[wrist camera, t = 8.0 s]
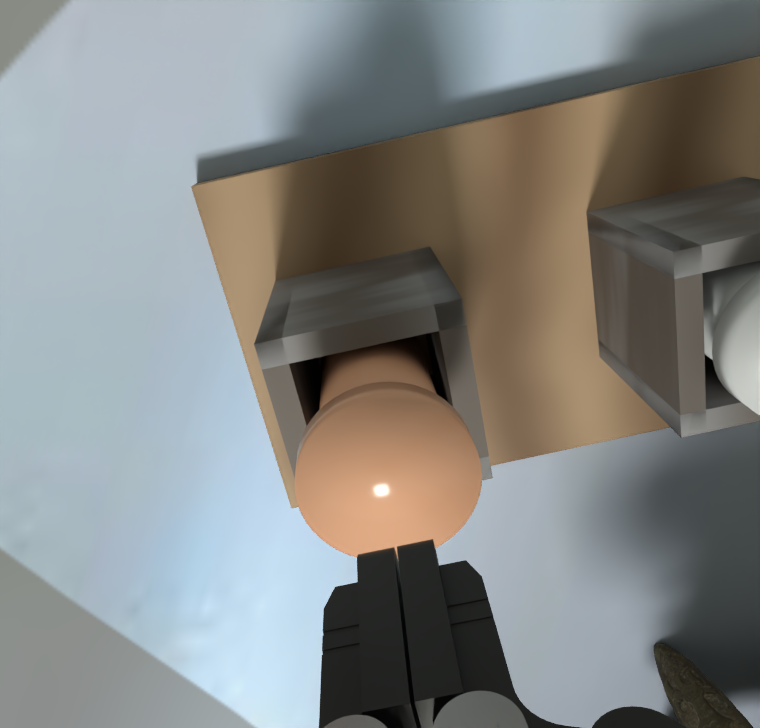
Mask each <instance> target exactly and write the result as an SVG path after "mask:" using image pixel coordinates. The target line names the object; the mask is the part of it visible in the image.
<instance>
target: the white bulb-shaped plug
mask: <svg viewBox="0 0 760 728" xmlns="http://www.w3.org/2000/svg"><path fill="white" fill-rule="evenodd" d="M702 276H703V314H704V352H705V355H706V356H707V357H709V358H710V359H712V360H713V364H714V368H715V372H716V374H717V376H718V379H719V380H720V382H721V383H722V385H723V386H724V388H725V389H726V390H727V391H728V392H729V393H730V394H731V395H733V396H734V397H735V398H736V399H738V400H739V401H740V402H742V403H743V404H744V405H746V406H747V407H748V408H750V409H751V410H752V411H754V412H755V413H757V414H758V415H760V261H755V262H751V263H746V264H742V265H737V266H732V267H728V268H723V269H719V270H714V271H710V272H705V273H702Z"/></svg>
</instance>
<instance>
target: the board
mask: <svg viewBox="0 0 760 728" xmlns="http://www.w3.org/2000/svg"><path fill="white" fill-rule="evenodd" d="M192 191H193V194H194V197H195V200H196V203H197V207H198V210H199V213H200V216H201V219H202V223H203V226H204V229H205V232H206V236H207V239H208V242H209V245H210V248H211V252H212V255H213V258H214V261H215V264H216V268H217V271H218V274H219V277H220V280H221V284H222V287H223V290H224V293H225V296H226V300H227V303H228V306H229V309H230V313H231V316H232V319H233V322H234V325H235V329H236V332H237V335H238V338H239V341H240V345H241V348H242V351H243V354H244V357H245V361H246V364H247V367H248V370H249V373H250V377H251V380H252V383H253V386H254V390H255V393H256V396H257V399H258V402H259V406H260V409H261V412H262V415H263V418H264V422H265V425H266V428H267V431H268V434H269V438H270V441H271V444H272V447H273V451H274V454H275V457H276V460H277V463H278V467H279V470H280V473H281V476H282V479H283V483H284V486H285V489H286V492H287V495H288V499H289V502H290V505H291V508H296V507H299V506H298V504H297V499H296V495H295V484H294V482H295V470H296V461H297V452H298V448H299V444H300V440H301V438H302V435H303V433H304V430H305V429H306V427H307V425H308V424H309V422H310V421H311V419H312V418H313V417H314V415H315V414H316V413H317V412H318V411H319V407H320V390H321V372H322V357H323V356H327V355H331V354H336V353H340V352H345V351H350V350H354V349H359V348H363V347H368V346H372V345H377V344H381V343H386V342H391V341H395V340H400V339H404V338H409V337H413V336H416V338H417V340H418V341H419V344H420V346H421V349H422V352H423V355H424V358H425V361H426V364H427V367H428V370H429V373H430V376H431V379H432V382H433V385H434V388H435V391H436V394H437V395H439V396H440V397H442V398H443V399H445V400H446V401H447V402H448V403H449V404H450V405H452V406H453V407H454V408H455V409H456V411H457V412H458V413H459V414H460V415H461V417H462V418H463V420H464V422H465V423H466V425H467V427H468V429H469V432H470V434H471V437H472V439H473V442H474V444H475V447H476V449H477V452H478V454H479V458H480V462H481V469H482V480H486V479H491V478H493V477H492V471H491V466H492V465H496V464H501V463H506V462H510V461H515V460H520V459H524V458H529V457H534V456H538V455H543V454H548V453H552V452H557V451H562V450H566V449H571V448H576V447H580V446H585V445H590V444H594V443H599V442H604V441H608V440H613V439H618V438H622V437H627V436H632V435H637V434H641V433H646V432H651V431H655V430H660V429H665V428H669V427H671V428H672V429H673V430H674V431H675V432H676V433H677V434H678V435H679V436H680V437H681V438H682V437H687V436H692V435H696V434H701V433H706V432H710V431H715V430H720V429H725V428H729V427H734V426H739V425H743V424H748V423H753V422H757V421H760V415H758V414H757V413H755V412H754V411H752V410H751V409H750V408H748V407H747V406H746V405H744V404H743V403H742V402H740V401H739V400H738V399H736V398H735V397H734V396H733V395H731V394H730V393H729V392H728V391H727V390H726V389H725V388H724V386H723V385H722V383H721V382H720V380H719V379H718V376H717V374H716V372H715V368H714V364H713V360H712V359H710V358H709V357H707V356H706V355H705V352H704V314H703V276H702V273H705V272H710V271H714V270H719V269H723V268H728V267H732V266H737V265H742V264H746V263H751V262H755V261H760V56H757V57H752V58H748V59H743V60H739V61H735V62H730V63H726V64H721V65H717V66H713V67H708V68H704V69H699V70H695V71H690V72H686V73H682V74H677V75H673V76H668V77H664V78H660V79H655V80H651V81H646V82H642V83H637V84H633V85H629V86H624V87H620V88H615V89H611V90H607V91H602V92H598V93H593V94H589V95H585V96H580V97H576V98H571V99H567V100H562V101H558V102H554V103H549V104H545V105H540V106H536V107H532V108H527V109H523V110H518V111H514V112H509V113H505V114H501V115H496V116H492V117H487V118H483V119H479V120H474V121H470V122H465V123H461V124H457V125H452V126H448V127H443V128H439V129H434V130H430V131H426V132H421V133H417V134H412V135H408V136H404V137H399V138H395V139H390V140H386V141H381V142H377V143H373V144H368V145H364V146H359V147H355V148H351V149H346V150H342V151H337V152H333V153H328V154H324V155H320V156H315V157H311V158H306V159H302V160H298V161H293V162H289V163H284V164H280V165H276V166H271V167H267V168H262V169H258V170H253V171H249V172H245V173H240V174H236V175H231V176H227V177H223V178H218V179H214V180H209V181H205V182H200V183H197V184H195V185H193V186H192Z"/></svg>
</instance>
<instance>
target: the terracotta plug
mask: <svg viewBox="0 0 760 728" xmlns="http://www.w3.org/2000/svg"><path fill="white" fill-rule="evenodd" d="M294 484H295V495H296V499H297V504H298V506H299V509H300V511H301V514H302V516H303V517H304V519H305V521H306V523H307V524H308V525H309V527H310V528H311V529H312V530H313V532H314V533H316V534H317V535H318V536H319V537H320V538H321V539H322V540H323V541H325V542H326V543H327V544H329V545H330V546H332V547H333V548H335V549H337V550H339V551H341V552H343V553H346V554H348V555H351V556H354V557H357V556H358V554H363V553H368V552H372V551H377V550H382V549H387V548H392V547H394V548H395V551H396V554H397V546H401V545H406V544H411V543H416V542H421V541H426V540H430V539H433V541H434V545H435V548H437V547H439V546H440V545H442V544H443V543H445V542H446V541H448V540H449V539H450V538H451V537H452V536H454V535H455V534H456V533H457V532H458V531H459V530H460V529H461V528H462V527H463V525H464V524H465V523H466V522H467V520H468V519H469V517H470V516H471V514H472V512H473V510H474V508H475V506H476V504H477V501H478V498H479V495H480V490H481V486H482V469H481V462H480V458H479V454H478V452H477V449H476V447H475V444H474V442H473V439H472V437H471V434H470V432H469V429H468V427H467V425H466V423H465V422H464V420H463V418H462V417H461V415H460V414H459V413H458V412H457V411H456V409H455V408H454V407H453V406H452V405H450V404H449V403H448V402H447V401H446V400H445V399H443V398H442V397H440V396H439V395H437V394H436V391H435V388H434V385H433V382H432V379H431V376H430V373H429V370H428V367H427V364H426V361H425V358H424V355H423V352H422V349H421V346H420V344H419V341H418V340H417V338H416V336H413V337H409V338H404V339H400V340H395V341H391V342H386V343H381V344H377V345H372V346H368V347H363V348H359V349H354V350H350V351H345V352H340V353H336V354H331V355H327V356H323V357H322V372H321V390H320V407H319V411H318V412H317V413H316V414H315V415H314V417H313V418H312V419H311V421H310V422H309V424H308V425H307V427H306V429H305V430H304V433H303V435H302V438H301V440H300V444H299V448H298V452H297V461H296V470H295V482H294ZM397 558H398V554H397Z"/></svg>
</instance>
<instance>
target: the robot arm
mask: <svg viewBox="0 0 760 728" xmlns="http://www.w3.org/2000/svg"><path fill="white" fill-rule="evenodd" d="M397 554H398V558H397ZM397 554H396V551H395V548H394V547H392V548H387V549H382V550H377V551H372V552H368V553H363V554H358V556H357V571H358V582H357V583H353V584H348V585H343V586H338V587H335V589H334V590H333V592H332V594H331V596H330V598H329V600H328V602H327V604H326V606H325V608H324V618H323V634H324V636H323V644H322V651H323V655H322V669H321V694H320V719H319V728H579V727H571V726H563V725H558V724H554V723H551V722H548V721H546V720H544V719H541V718H539V717H538V716H536V715H535V714H533V713H532V712H530V711H529V710H528V709H527V708H526V707H525V706H524V705H523V704H522V702H521V701H520V700H519V698H518V697H517V695H516V693H515V690H514V688H513V685H512V681H511V678H510V674H509V671H508V667H507V664H506V660H505V657H504V653H503V650H502V646H501V643H500V639H499V635H498V632H497V628H496V625H495V621H494V619H493V614H492V611H491V607H490V604H489V601H488V597H487V593H486V590H485V586H484V583H483V579H482V576H481V575H480V574H479V573H478V572H477V571H476V570H475V569H474V568H473V567H472V566H471V565H470V564H469V563H468V562H467V561H466V560H465V561H460V562H455V563H450V564H445V565H440V566H439V563H438V559H437V554H436V550H435V545H434V541H433V539H430V540H426V541H421V542H416V543H411V544H406V545H401V546H397ZM592 728H687V727H685V726H683V725H681V724H680V723H678V722H676V721H675V720H673V719H671V718H669V717H668V716H666V715H664V714H662V713H660V712H657V711H654V710H652V709H648V708H643V707H622V708H618V709H614V710H612V711H610V712H607V713H606V714H604V715H603V716H601V717H600V718H599V719H598V720H597V721H596V722H595V724H594V725H593V727H592Z"/></svg>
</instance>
